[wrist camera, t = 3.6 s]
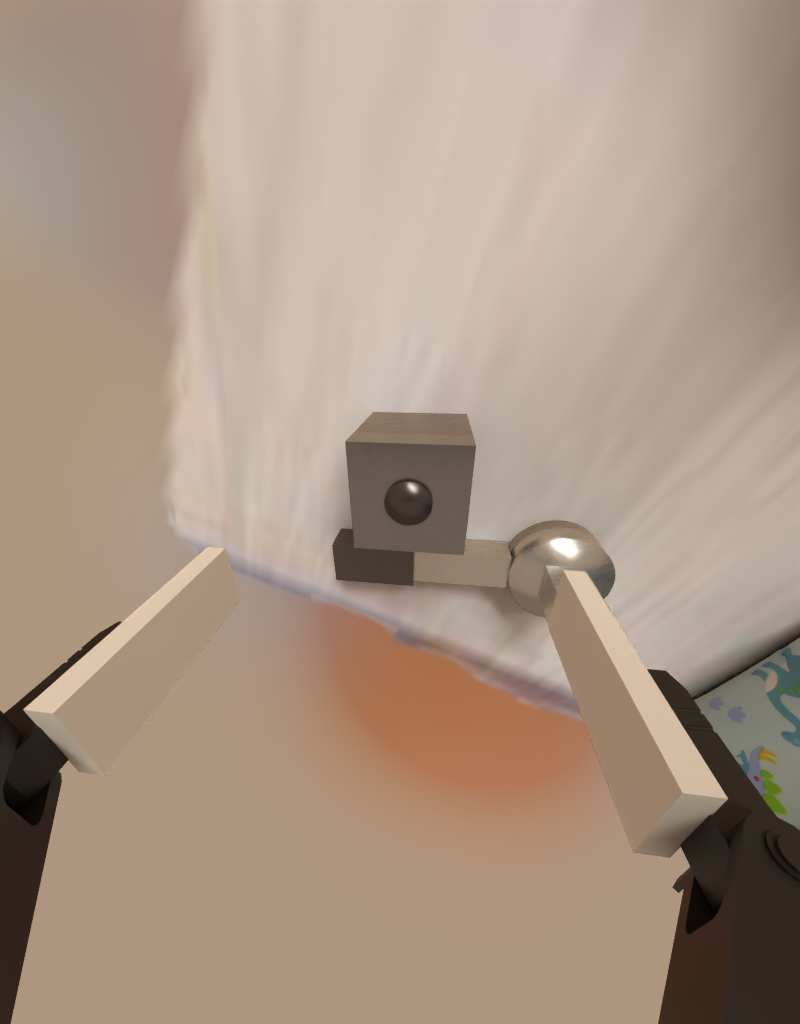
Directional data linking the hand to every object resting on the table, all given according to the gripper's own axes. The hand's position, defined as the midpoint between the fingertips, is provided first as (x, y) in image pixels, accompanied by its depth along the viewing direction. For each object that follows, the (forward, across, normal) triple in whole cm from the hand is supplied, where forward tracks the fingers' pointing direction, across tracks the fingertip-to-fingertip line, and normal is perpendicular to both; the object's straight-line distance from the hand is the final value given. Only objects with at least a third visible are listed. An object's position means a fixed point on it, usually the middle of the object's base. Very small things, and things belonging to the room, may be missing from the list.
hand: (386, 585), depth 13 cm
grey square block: (+15, 0, 0) cm, 15 cm away
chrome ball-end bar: (+15, +5, -9) cm, 18 cm away
